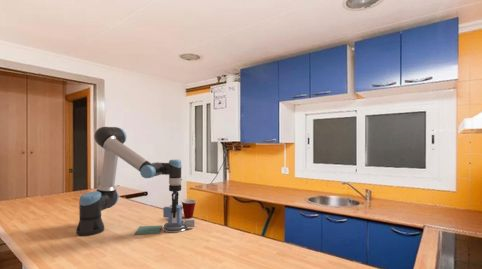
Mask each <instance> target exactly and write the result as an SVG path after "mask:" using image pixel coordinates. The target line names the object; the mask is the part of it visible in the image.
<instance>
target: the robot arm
mask: <svg viewBox="0 0 482 269" xmlns="http://www.w3.org/2000/svg"><path fill="white" fill-rule="evenodd" d="M93 139H94V141H95V143H96V144H97V145H98V146H100V147H101V148H102V149H103V150H104V151H103V158H102V159H103V160H102V166H101V175H100V182H99V185H98V186H97V188H96V190H95V191H93V190H92V191H87V192H85V193H83V194H81V195H80V196H79V201H78V203H79V205H78V207H79V221H78V224H77V226H76V230H75V234H76V235H77V236H81V237H83V236H84V237H86V236H87V237H89V236H94V235H97V234H100V233H103V232H104V231H105V225H104V222H103V219H102V211H104V210H107V209H109V208H113V207H114V206H115V205H116V204H117V203H118V201H119V193H118V191H117V187H116V186H115V182H116V177H117V176H116V175H117V174H116V173H117V169H118V168H117V166H118V160H119V158H120V159H121V160H122V161H124V162H126V163H127V164H128V165H130V166H131V167H132V168H134V169H136V170H137V171H139V173H140V175H141V177H142V178H144V179H151V178H154V177H158V176H161V175H166V176H168V184H169V185H168V191H169V192H172V193H171V205H172V212H171V213H172V223H177V211H176V208H177V205H179V194H180V193H179V192H180V191H182V181H183V179H182V166H183V165H182V160H180V159H170V160H169V161H168V162H158V161H157V162H150V161H148V160H147V159H145V158H144V157H142V156H141V155H140V154H138V153H137V152H135V151H134V150H132V149H131V148H129V147H128V146H127V145H125V144H124V143H125V142H127V133H126V131H125V130H124V129H123V128H121V127H117V126H101V127H99V128H97V130H96V131H95V132H94V138H93Z"/></svg>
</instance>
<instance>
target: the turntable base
mask: <svg viewBox="0 0 482 269" xmlns="http://www.w3.org/2000/svg"><path fill="white" fill-rule="evenodd" d="M162 227H163V228H162V231H163V232H164V233H168V234H170V233H171V234H177V233H182V232H185V231H186V230H188V229H189V227H186V228H184V229H182V230H177V231H169V230H165V229H164V226H162Z"/></svg>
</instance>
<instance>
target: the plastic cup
mask: <svg viewBox="0 0 482 269" xmlns="http://www.w3.org/2000/svg"><path fill="white" fill-rule="evenodd" d="M180 201H181V205H182V206H183V209H182V211H183V212H182V213H183V216H184V218H185V219H193V217H194V211H195V208H196V203H197V200H196V199H192V198H191V199H190V198H187V199H182V200H180Z"/></svg>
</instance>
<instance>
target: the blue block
mask: <svg viewBox="0 0 482 269" xmlns="http://www.w3.org/2000/svg"><path fill="white" fill-rule="evenodd" d="M162 211H163V212H162V214H163V215H162V216H163V218H167V223H168V225H180V224H181V223H182V221H183V216H182V215H183V212H182V211H183V205H182V204H178V205H177V208H176V211H177V223H172V213H171V212H172V204H171V205H169V206H164V207H163V210H162Z"/></svg>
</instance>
